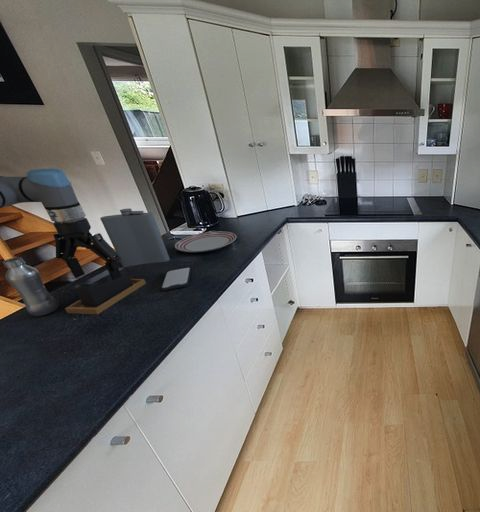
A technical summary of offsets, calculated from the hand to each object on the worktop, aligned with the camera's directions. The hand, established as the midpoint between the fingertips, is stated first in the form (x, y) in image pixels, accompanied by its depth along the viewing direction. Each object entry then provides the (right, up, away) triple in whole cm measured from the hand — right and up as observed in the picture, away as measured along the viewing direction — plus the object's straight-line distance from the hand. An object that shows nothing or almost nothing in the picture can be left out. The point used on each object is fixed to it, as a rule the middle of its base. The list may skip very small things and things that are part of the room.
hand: (98, 276), depth 96 cm
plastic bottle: (-13, -12, -4) cm, 18 cm away
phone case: (+17, -3, +15) cm, 23 cm away
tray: (0, -8, +4) cm, 9 cm away
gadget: (0, -7, +4) cm, 8 cm away
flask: (-7, +4, +28) cm, 30 cm away
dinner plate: (+9, +13, +46) cm, 48 cm away
